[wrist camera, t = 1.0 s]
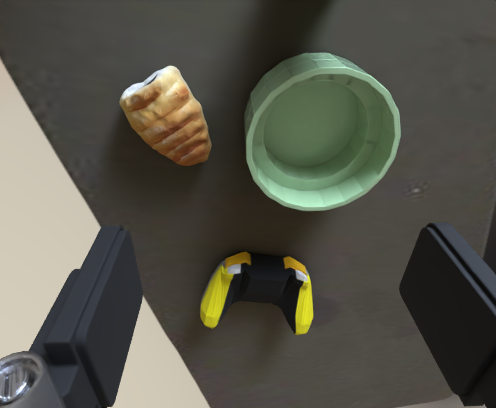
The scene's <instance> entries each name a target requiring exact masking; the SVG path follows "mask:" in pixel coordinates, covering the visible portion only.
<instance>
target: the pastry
mask: <svg viewBox="0 0 496 408" xmlns="http://www.w3.org/2000/svg"><path fill="white" fill-rule="evenodd" d="M119 104H120V106H121V107H122V109H123V110H124V112H125V115H126V117H127V119H128V120H129V123H130V125H131V127H132V128H133V129H134V130H135V131H136V132H137V133H138V134H139V135H140V136H141V138H142V139H143V140H144V141H145V142H146V143H148V144H149V145H150V146H151V147H152V148H153V149H155V150H157V151H158V152H159V153H160V154H162V155H165V156H167V157H168V158H170V159H171V160H172V161H174V162H175V163H177V164H180V165H182V166H190V165H194V164H197V163H199V162H204V161H206V160H207V158H208V156H209V153H210V150H211V146H212V144H211V141H210V138H209V134H208V126H207V123H206V121H205V119H204V116H203V112H202V107H201V105H200V103H199V102H198V101H197V100H195V98H194V97H193V95H192V93H191V91H190V89H189V87H188V85H187V84H186V82H185V81H184V80H183V78H182V77H181V74H180V72H179V70H178V69H177V68H175V67H173V66H167V67H166V68H164V69H162V70H159V71H157V72H155V73H153V74H152V75H151V76H150V77H149V78H147V79H146V80H145V81H144V82H143V83H137V84H134V85H132V86H131V87H129V88H128V89H126V90H125V91H124V93H123V94H122V96H121V99H120V102H119Z"/></svg>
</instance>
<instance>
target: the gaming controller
mask: <svg viewBox="0 0 496 408" xmlns="http://www.w3.org/2000/svg"><path fill="white" fill-rule="evenodd" d="M237 301H250V302H261V303H272V304H275V305H277V306H279V307H280V308H281V309H282V311H283V313H284V315H285V317H286V320H287V322H288V323H289V325H290V327H291V329H292V330H293V332H294V334H295V335H300V334H304V333H307V331H308V329H309V327H310V324H311V322H312V319H313V303H312V290H311V281H310V277H309V274H308V271H307V270H306V269H305V266H304V265H302V264H301V263H299V262H298V261H296V260H295V259H293V258H291V257H289V256H288V257H285V258H283V257H274V256H265V255H256V254H249V253H247V252H242V253H239V254H236V255H234V256H231V257H228V258H226V259H225V260H224V261H222V262H221V263H220V264H219V265H218V267H217V268H216V270H215V271H214V273H213V274H212V276H211V277H210V280H209V282H208V284H207V286H206V289H205V291H204V293H203V296H202V298H201V306H200V316H201V319H202V321H203V323H204V325H206V326H207V327H209V328H214V327H216V326H217V324H218V323H219V322H220V320H221V319H222V318H223V316H224V315H225V313H226V312H227V310H228V308H229V307H230V305H231V304H233V303H235V302H237Z"/></svg>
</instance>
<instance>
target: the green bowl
mask: <svg viewBox="0 0 496 408" xmlns="http://www.w3.org/2000/svg"><path fill="white" fill-rule="evenodd" d="M400 137H401V132H400V119H399V111H398V109H397V107H396V105H395V103H394V101H393V99H392V97H391V95H390V93H389V91H388V90H387V89H385V88H384V87H383V86H382V85H381V84H380V83H379V82H378V81H376V80H375V79H374V78H373V77H372V76H371V75H369V74H368V73H366V72H365V71H363V70H362V69H360V68H359V67H358V66H356V65H355V64H353V63H352V62H350V61H349V60H347V59H344V58H341V57H338V56H336V55H333V54H330V53H304V54H301V55H298V56H295V57H292V58H289V59H286V60H284V61H282V62H280V63H279V64H278V65H276V66H275V67H274V68H273V69H271V70H270V71H269V72H267V73H266V74H265V75H264V76H263V77H262V78H261V80H260V81H259V83H258V84H257V85H256V87H255V88H254V90H253V91H252V92H251V94H250V97H249V100H248V103H247V106H246V109H245V112H244V139H245V151H246V161H247V164H248V166H249V169H250V172H251V175H252V177H253V180H254V181H255V182H256V184H257V185H258V186H259V187H260V188H261V190H262V191H263V192H264V193H265V194H266V195H267V196H268V197H270V198H271V199H273V200H275V201H276V202H278V203H279V204H281V205H283V206H285V207H289V208H293V209H297V210H301V211H325V210H329V209H333V208H336V207H340V206H343V205H346V204H348V203H350V202H352V201H354V200H355V199H357V198H359V197H361V196H362V195H364V194H366V193H367V192H368V191H369V190H370V189H371V188H372V187H373V186H374V185H375V184H377V183H378V182H379V181H380V180H381V179H382V178H383V176H384V175H385V173H386V171H387V170H388V168H389V167H390V165H391V163H392V162H393V160H394V158H395V156H396V152H397V148H398V144H399V140H400Z"/></svg>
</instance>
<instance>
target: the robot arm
mask: <svg viewBox="0 0 496 408" xmlns="http://www.w3.org/2000/svg"><path fill="white" fill-rule="evenodd" d="M399 290H400V294H401V297H402V299H403V301H404V302H405V304H406V306H407V308H408V310H409V312H410V314H411V316H412V317H413V319H414V321H415V323H416V325H417V327H418V329H419V331H420V332H421V334H422V336H423V338H424V340H425V342H426V344H427V346H428V347H429V349H430V351H431V353H432V355H433V357H434V359H435V361H436V363H437V364H438V366H439V368H440V370H441V372H442V374H443V376H444V378H445V379H446V381H447V383H448V385H449V387H450V389H451V390H452V391H453V392H454V393H455V394H456V395H458V396H459V397H460V399H461V401H462V402H463V405H464V406H482V405H484V404H485V406H486V407H487V408H496V275H495V274H494V272H493V271H492V270H491V269H490V268H489V267H488V266H487V265H486V263H485V262H484V261H483V260H482V259H481V258H480V257H479V255H478V254H477V253H476V252H475V251H474V250H473V249H472V248H471V246H470V245H469V244H468V243H467V242H466V241H465V240H464V238H463V237H462V236H461V235H460V234H459V233H458V232H457V231H456V229H455V228H454V227H453V226H452V225H451V224H449V223H429V224H428V225H427V226H426V228H423V229H422V230H421V232H420V234H419V237H418V239H417V242H416V244H415V247H414V250H413V252H412V255H411V257H410V260H409V262H408V265H407V268H406V270H405V273H404V275H403V278H402V280H401V283H400V287H399ZM142 298H143V290H142V285H141V280H140V276H139V271H138V267H137V262H136V258H135V253H134V248H133V244H132V239H131V235H130V232H129V231H124V228H123V227H122V226H103V227H102V228H101V229H100V231H99V233H98V235H97V237H96V239H95V241H94V243H93V245H92V247H91V249H90V251H89V253H88V255H87V256H86V258H85V260H84V262H83V264H82V267H81V269H74V270H73V271H72V272H71V273H70V275H69V277H68V278H67V280H66V282H65V284H64V286H63V288H62V289H61V291H60V293H59V295H58V297H57V299H56V301H55V303H54V305H53V306H52V308H51V310H50V312H49V314H48V316H47V318H46V320H45V321H44V323H43V325H42V327H41V329H40V331H39V333H38V334H37V336H36V338H35V340H34V342H33V344H32V346H31V347H30V349H29V351H22V352H17V353H13V354H10V355H8V356H6V357H3V358H1V359H0V408H107V407H112V406H113V404H114V402H115V399H116V396H117V392H118V388H119V384H120V381H121V377H122V373H123V370H124V366H125V362H126V358H127V355H128V351H129V347H130V344H131V340H132V336H133V332H134V328H135V325H136V321H137V318H138V314H139V310H140V307H141V303H142Z"/></svg>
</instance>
